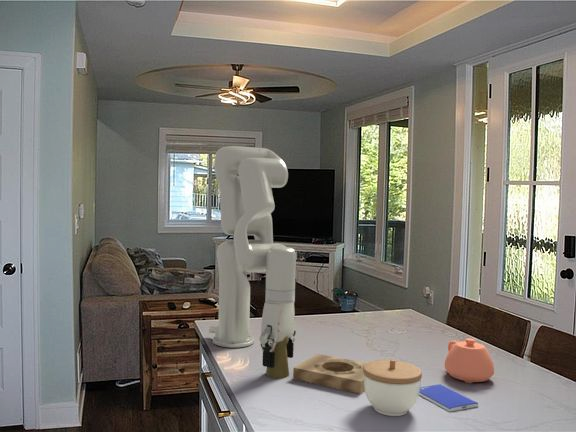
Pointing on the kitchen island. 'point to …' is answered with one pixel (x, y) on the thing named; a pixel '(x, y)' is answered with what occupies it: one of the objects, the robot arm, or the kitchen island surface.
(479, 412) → the kitchen island surface
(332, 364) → the holder board
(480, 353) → the sugar bowl
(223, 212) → the robot arm
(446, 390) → the hard drive
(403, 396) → the lidded bowl
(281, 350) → the cork
